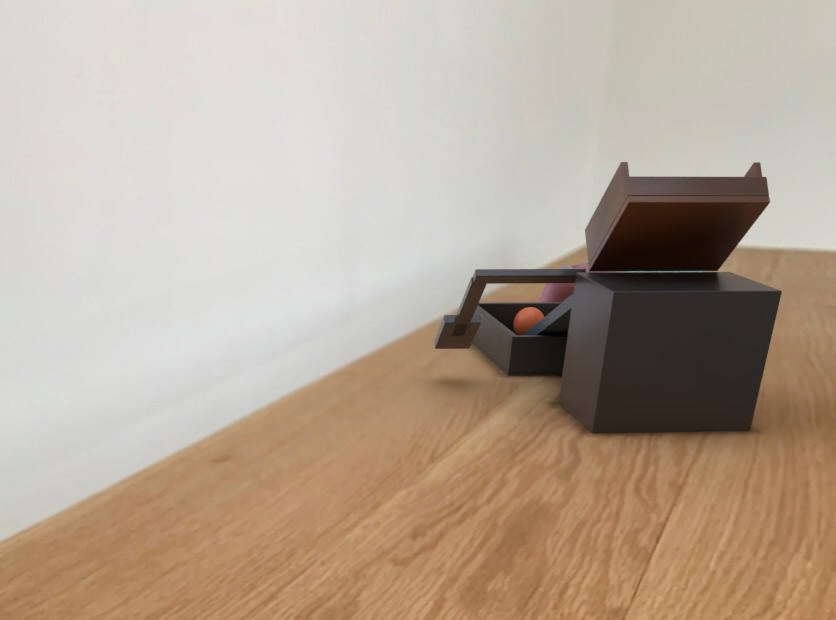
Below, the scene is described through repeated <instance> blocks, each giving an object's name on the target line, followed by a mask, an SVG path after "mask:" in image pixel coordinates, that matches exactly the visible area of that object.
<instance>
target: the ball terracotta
mask: <svg viewBox="0 0 836 620" xmlns="http://www.w3.org/2000/svg"><path fill="white" fill-rule="evenodd" d="M543 318H544V315H543V314H542V312H541V311H540V310H538V309H537V308H534V307H527V308H524V309H522V310H521V311H520V312H518V314H517V315H516V317H515V319H514V323H513V326H514V331H515V333H516V334H517V335H523V334H524V333H526V332H527V331H528V330H529V329H531V328H532V327H533V326H534V325H536V324H537V323H538V322H539V321H540V320H542V319H543Z"/></svg>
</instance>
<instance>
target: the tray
mask: <svg viewBox="0 0 836 620" xmlns="http://www.w3.org/2000/svg"><path fill="white" fill-rule="evenodd" d="M561 303H563V302H539V301H535V302H534V301H530V302H523V301H522V302H521V301H519V302H479V303H478V306H477V308H476V310H475V313H474V315H480V319H481V324H480V326H479V328H478V331H477V333H476V335H475V337H474V340H473V342H472V344H473V345H474V346H475V347H476V348H477V349H478V350H479V351H480V352H482V353H483V355H485V356H486V357H487V358H488V359H489V360H490V362H492V363H494V365H496V367H498V368H499V369H500V370H501V371H502V372H503V373H504V374H505V375H507V376H508V377H515V376H516V377H517V376H519V377H520V376H523V377H526V376H529V377H531V376H562V374H563V366H564V359H565V352H566V344H567V337H568V335H517V334H516V333H515V331H514V326H513V323H514V319H515V317H516V315H517V314H518V312H520V311H521V310H522V309H524V308H527V307H534V308H537V309H538V310H540V311H541V312H542V314H543V315H544V317H545V316H547V315H548V314H549V313H550V312H552V311H553V310H554V309H555V308H556V307H558V306H559V305H560V304H561Z"/></svg>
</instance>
